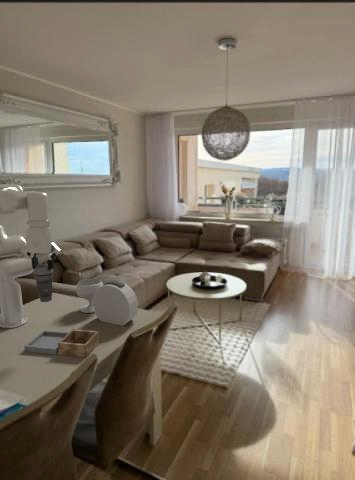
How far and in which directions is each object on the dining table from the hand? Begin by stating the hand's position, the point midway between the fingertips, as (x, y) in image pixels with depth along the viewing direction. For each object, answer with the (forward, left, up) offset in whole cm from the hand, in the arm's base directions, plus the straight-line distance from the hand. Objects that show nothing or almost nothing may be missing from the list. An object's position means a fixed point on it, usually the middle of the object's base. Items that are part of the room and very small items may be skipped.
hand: (43, 268), depth 134 cm
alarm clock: (+19, +27, -33) cm, 47 cm away
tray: (0, 0, -33) cm, 33 cm away
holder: (+14, -1, -33) cm, 36 cm away
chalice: (+1, +38, -33) cm, 51 cm away
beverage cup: (0, 0, -14) cm, 14 cm away
